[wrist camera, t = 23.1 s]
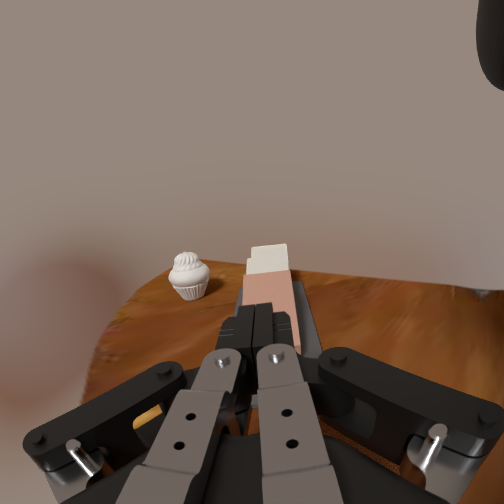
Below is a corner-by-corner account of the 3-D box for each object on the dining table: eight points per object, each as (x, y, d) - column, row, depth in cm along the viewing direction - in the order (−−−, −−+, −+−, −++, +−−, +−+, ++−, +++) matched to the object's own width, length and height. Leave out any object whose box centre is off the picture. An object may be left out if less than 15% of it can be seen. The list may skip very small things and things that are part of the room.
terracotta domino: (300, 345, 23) (289, 269, 31) (240, 350, 24) (243, 274, 32) (301, 358, 24) (291, 283, 32) (244, 363, 25) (246, 288, 33)
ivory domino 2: (293, 314, 29) (286, 254, 37) (244, 319, 29) (247, 258, 37) (294, 326, 30) (287, 266, 38) (247, 330, 30) (249, 270, 38)
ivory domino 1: (291, 292, 34) (286, 243, 42) (249, 296, 35) (251, 247, 43) (292, 304, 35) (287, 254, 43) (251, 307, 36) (253, 258, 44)
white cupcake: (175, 308, 40) (164, 260, 38) (172, 293, 45) (163, 251, 44) (217, 298, 41) (208, 251, 40) (210, 285, 47) (202, 243, 45)
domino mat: (334, 399, 19) (334, 395, 19) (214, 409, 20) (213, 405, 20) (301, 282, 43) (301, 280, 43) (240, 289, 43) (240, 287, 43)
